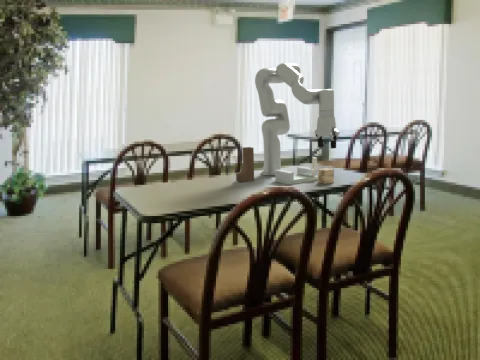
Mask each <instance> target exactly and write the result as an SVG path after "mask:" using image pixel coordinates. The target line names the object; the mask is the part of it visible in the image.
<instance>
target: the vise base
mask: <svg viewBox="0 0 480 360" xmlns="http://www.w3.org/2000/svg"><path fill="white" fill-rule="evenodd" d="M294 173H295V172H293V171H288V170H283V169H281V170H275V175H274V177H275V178H274V180H275V182H277V183H282V184H286V185H294V184H301V183H306V182H307V183H308V182H314V181H318V175H316V176H313V177H311V176H306V175H301V174H297V173H296V174H294Z"/></svg>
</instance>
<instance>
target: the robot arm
mask: <svg viewBox="0 0 480 360" xmlns="http://www.w3.org/2000/svg"><path fill="white" fill-rule="evenodd" d="M304 79H305V78H304V76H303V75H302V74H301V68H300V66H299V65H298V64H297V63H294V62H283V63H282V62H281V63H280V64H278V65H277V66H276V67H264V68H262V69H259V70H258V71H257V72H256V74H255V77H254V84H255V88H256V90H257V94H258V101H259V107H260V111H261V114H262V116H263V117H265V118H270V119H266V120H264V121H263V122H262V124H261V133H262V137H263V166H262V167H261V169H263V170H262V171H261V175H263V176H274V177H275V170H282V169H281V164H282V163H281V159H282V158H281V142H280V139H279V136H282V135H283V136H284V135H286V134H288V133H289V131H290V129H291V124H290V119H289V112H288V107H287V105H286V103H285V102H284V101H283V100H281V99H275V97H274V96H275V95H274V91H273V88H272V87H271V86H270V85H269V84H283V83H285V84H286V85H287V86H289V87H290V88H291V89H290V90H291V93H292V95H293V97H294V98H296V100H297V101H299V102H300V103H302V104H303V105H308V106H309V105H318V116H317V120H316V129H315V130H314V133H315V137H316V140H317V148H324V139H323V138H325V137H326V138H330V139H331V140H330V149H337V140H338V138H339V136H340V133H341V132H340V131H339V130H338V129H337V124H336V117H335V91H334V89H331V88H327V89H326V88H325V89H321V88H320V89H319V88H317V89H314V88H312V89H307V88H306V87H304V86H303V84H304ZM273 117H274V118H273Z"/></svg>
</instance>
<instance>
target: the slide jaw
mask: <svg viewBox="0 0 480 360" xmlns="http://www.w3.org/2000/svg"><path fill="white" fill-rule="evenodd" d="M296 169H297V172H296V174H301V175H306V176H311V177H313V176H317V173H318V157H312V158H311V167H306V166H297V167H296Z"/></svg>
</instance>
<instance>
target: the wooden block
mask: <svg viewBox="0 0 480 360" xmlns="http://www.w3.org/2000/svg"><path fill="white" fill-rule="evenodd" d="M254 154H255V151H254V147H251V146H246V147H242V169H241V170H240V171H239V172H236V174H235V179H236V180H235V181H236V182H237V181H238V182H237V183H247V182H253V181H255V162H254V161H255V159H254V157H255V156H254Z"/></svg>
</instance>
